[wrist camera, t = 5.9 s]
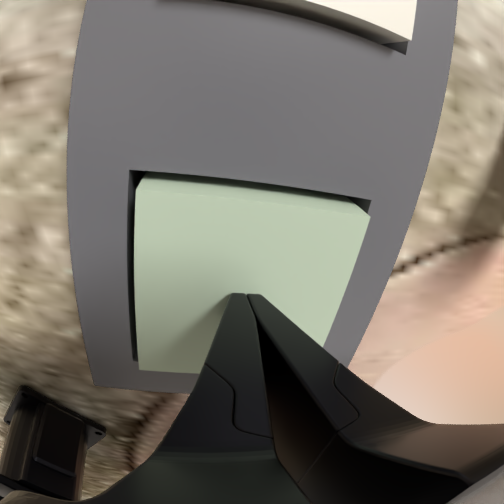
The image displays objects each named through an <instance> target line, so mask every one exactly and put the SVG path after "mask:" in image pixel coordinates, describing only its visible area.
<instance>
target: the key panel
mask: <svg viewBox="0 0 504 504" xmlns="http://www.w3.org/2000/svg"><path fill="white" fill-rule="evenodd" d="M457 3H458V0H417V4H416V12H415V20H414V27H413V34H412V40H411V41H404V42H394V43H386V44H378V43H376V42H373V41H371V40H368V39H366V38H363V37H360V36H358V35H355V34H352V33H349V32H346V31H343V30H340V29H337V28H334V27H331V26H328V25H325V24H321V23H318V22H315V21H311V20H308V19H304V18H300V17H296V16H293V15H289V14H284V13H280V12H276V11H271V10H267V9H262V8H257V7H251V6H246V5H240V4H234V3H227V2H220V1H212V0H87V2H86V6H85V10H84V15H83V19H82V24H81V29H80V34H79V40H78V45H77V51H76V58H75V64H74V71H73V79H72V88H71V97H70V108H69V121H68V140H67V207H68V226H69V240H70V251H71V261H72V270H73V278H74V286H75V293H76V299H77V306H78V312H79V318H80V323H81V329H82V334H83V339H84V344H85V348H86V353H87V357H88V362H89V366H90V370H91V374H92V378H93V382H94V385H95V386H103V387H111V388H120V389H129V390H140V391H153V392H167V393H187V394H191V392H192V390H193V388H194V386H195V383H196V381H197V379H198V377H199V374H198V373H176V372H160V371H147V370H139V361H138V348H137V334H136V315H135V287H134V228H135V200H136V189H137V187H138V185H139V184H140V182H141V180H142V178H143V177H144V175H145V173H146V171H155V172H167V173H179V174H190V175H200V176H210V177H219V178H228V179H236V180H245V181H253V182H260V183H268V184H275V185H283V186H290V187H296V188H303V189H310V190H316V191H322V192H328V193H334V194H340V195H345V196H346V197H347V198H349V199H350V200H351V201H352V202H353V203H355V204H356V205H357V206H358V207H360V208H361V209H362V210H363V211H364V212H365V213H367V214H368V215H369V216H370V220H369V224H368V227H367V230H366V233H365V236H364V239H363V242H362V245H361V248H360V251H359V254H358V257H357V260H356V262H355V265H354V268H353V271H352V274H351V277H350V279H349V282H348V285H347V287H346V290H345V293H344V295H343V298H342V301H341V303H340V306H339V309H338V311H337V314H336V316H335V319H334V321H333V324H332V326H331V329H330V331H329V334H328V336H327V338H326V341H325V343H324V346H323V348H324V349H325V350H326V351H327V352H329V353H330V354H331V355H332V356H333V357H334V358H336V359H337V360H338V361H339V363H342V364H343V365H344V366H345V367H346V368H347V367H348V365H349V363H350V362H351V360H352V358H353V356H354V354H355V352H356V350H357V348H358V346H359V344H360V342H361V339H362V337H363V335H364V333H365V331H366V329H367V327H368V325H369V323H370V320H371V318H372V316H373V314H374V312H375V309H376V307H377V305H378V303H379V300H380V298H381V296H382V293H383V291H384V289H385V286H386V284H387V282H388V279H389V277H390V274H391V272H392V269H393V267H394V264H395V262H396V259H397V257H398V254H399V251H400V249H401V246H402V243H403V241H404V238H405V235H406V232H407V230H408V227H409V224H410V221H411V218H412V215H413V212H414V209H415V206H416V203H417V200H418V197H419V194H420V190H421V187H422V184H423V181H424V177H425V174H426V170H427V167H428V163H429V160H430V156H431V152H432V148H433V145H434V141H435V137H436V133H437V129H438V124H439V120H440V116H441V111H442V106H443V102H444V97H445V92H446V86H447V81H448V75H449V69H450V63H451V57H452V50H453V42H454V34H455V25H456V15H457Z"/></svg>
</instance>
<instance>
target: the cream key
mask: <svg viewBox="0 0 504 504" xmlns="http://www.w3.org/2000/svg"><path fill="white" fill-rule="evenodd" d="M212 1H220V2H227V3H234V4H240V5H246V6H251V7H257V8H262V9H267V10H271V11H276V12H280V13H284V14H289V15H293V16H296V17H300V18H304V19H308V20H311V21H315V22H318V23H321V24H325V25H328V26H331V27H334V28H337V29H340V30H343V31H346V32H349V33H352V34H355V35H358V36H360V37H363V38H366V39H368V40H371V41H373V42H376V43H378V44H386V43H394V42H404V41H411V40H412V34H413V27H414V20H415V12H416V4H417V0H212Z"/></svg>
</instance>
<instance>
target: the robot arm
mask: <svg viewBox="0 0 504 504" xmlns="http://www.w3.org/2000/svg"><path fill="white" fill-rule="evenodd" d="M4 421H5V422H6V423H7V424H8V425H10V427H9V430H8V433H7V437H6V440H5V444H4V447H3V451H2V455H1V459H0V504H504V424H484V425H453V424H452V425H451V424H449V425H448V424H435V423H430V422H427V421H423V420H421V419H419V418H417V417H416V416H414V415H412V414H411V413H409V412H408V411H406V410H405V409H403V408H402V407H400V406H398V405H397V404H396V403H394V402H393V401H391V400H389V399H388V398H387V397H385V396H384V395H382V394H381V393H379V392H378V391H376V390H375V389H374V388H372V387H371V386H370V385H368V384H367V383H365V382H364V381H363V380H361V379H360V378H359V377H358V376H356V375H355V374H354V373H353V372H351V371H350V370H349V369H348V368H346V367H345V366H344V365H343V364H342V363H339V361H338V360H337V359H336V358H334V357H333V356H332V355H331V354H330V353H329V352H327V351H326V350H325V349H324V348H323V347H322V346H320V345H319V344H318V343H317V342H316V341H314V340H313V339H312V338H311V337H310V336H309V335H307V334H306V333H305V332H304V331H303V330H302V329H300V328H299V327H298V326H297V325H296V324H295V323H294V322H292V321H291V320H290V319H289V318H288V317H287V316H285V315H284V314H283V313H282V312H281V311H280V310H278V309H277V308H276V307H275V306H274V305H273V304H272V303H270V302H269V301H268V300H267V299H266V298H265V297H264V296H262V295H261V294H250V293H248V294H245V293H231V294H230V297H229V299H228V302H227V305H226V307H225V310H224V312H223V315H222V317H221V320H220V323H219V325H218V328H217V330H216V333H215V336H214V338H213V341H212V343H211V346H210V349H209V351H208V354H207V356H206V359H205V362H204V364H203V366H202V369H201V372H200V374H199V377H198V379H197V381H196V383H195V386H194V388H193V390H192V392H191V394H190V396H189V397H188V399H187V401H186V403H185V405H184V406H183V408H182V409H181V411H180V413H179V414H178V416H177V417H176V419H175V421H174V422H173V424H172V425H171V427H170V429H169V430H168V432H167V433H166V435H165V436H164V438H163V440H162V441H161V443H160V444H159V445H158V447H157V448H156V450H155V451H154V452H153V453H152V455H151V456H150V457H149V458H148V459H147V460H146V461H145V462H144V463H142V464H141V465H140V466H138V467H137V468H136V469H134V470H133V471H132V472H130V473H129V474H127V475H126V476H125V477H123V478H122V479H121V480H119V481H118V482H116V483H115V484H114V485H112V486H111V487H109V488H108V489H106V490H105V491H104V492H102V493H101V494H99V495H97V496H95V497H93V498H90V499H86V500H81V495H82V485H83V475H84V466H85V458H86V451H87V449H89V448H90V447H91V446H93V445H94V444H96V443H97V442H98V441H100V440H101V439H102V438H104V437H105V436H106V428H105V427H103V426H101V425H98V424H96V423H94V422H92V421H90V420H88V419H86V418H84V417H81V416H79V415H77V414H75V413H73V412H71V411H69V410H67V409H66V408H64V407H62V406H60V405H58V404H56V403H54V402H52V401H51V400H49V399H47V398H45V397H44V396H42V395H40V394H38V393H37V392H35V391H33V390H31V389H30V388H28V387H26V386H20V387H19V389H18V391H17V393H16V395H15V396H14V398H13V400H12V402H11V404H10V406H9V408H8V410H7V412H6V414H5V417H4Z"/></svg>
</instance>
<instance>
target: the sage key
mask: <svg viewBox="0 0 504 504" xmlns="http://www.w3.org/2000/svg"><path fill="white" fill-rule="evenodd" d="M369 220H370V216H369V215H368V214H367V213H365V212H364V211H363V210H362V209H361V208H360V207H358V206H357V205H356V204H355V203H353V202H352V201H351V200H350V199H349V198H347V197H346V196H345V195H340V194H334V193H328V192H322V191H316V190H310V189H303V188H296V187H290V186H283V185H275V184H268V183H260V182H253V181H245V180H236V179H228V178H219V177H210V176H200V175H190V174H179V173H167V172H155V171H146V173H145V175H144V177H143V178H142V180H141V182H140V184H139V185H138V187H137V189H136V200H135V228H134V287H135V315H136V334H137V348H138V361H139V370H147V371H160V372H176V373H198V374H200V372H201V369H202V366H203V364H204V362H205V359H206V356H207V354H208V351H209V349H210V346H211V343H212V341H213V338H214V336H215V333H216V330H217V328H218V325H219V323H220V320H221V317H222V315H223V312H224V310H225V307H226V305H227V302H228V299H229V297H230V294H231V293H245V294H248V293H250V294H261V295H262V296H264V297H265V298H266V299H267V300H268V301H269V302H270V303H272V304H273V305H274V306H275V307H276V308H277V309H278V310H280V311H281V312H282V313H283V314H284V315H285V316H287V317H288V318H289V319H290V320H291V321H292V322H294V323H295V324H296V325H297V326H298V327H299V328H300V329H302V330H303V331H304V332H305V333H306V334H307V335H309V336H310V337H311V338H312V339H313V340H314V341H316V342H317V343H318V344H319V345H320V346H322V347H323V346H324V343H325V341H326V338H327V336H328V334H329V331H330V329H331V326H332V324H333V321H334V319H335V316H336V314H337V311H338V309H339V306H340V303H341V301H342V298H343V295H344V293H345V290H346V287H347V285H348V282H349V279H350V277H351V274H352V271H353V268H354V265H355V262H356V260H357V257H358V254H359V251H360V248H361V245H362V242H363V239H364V236H365V233H366V230H367V227H368V224H369Z"/></svg>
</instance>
